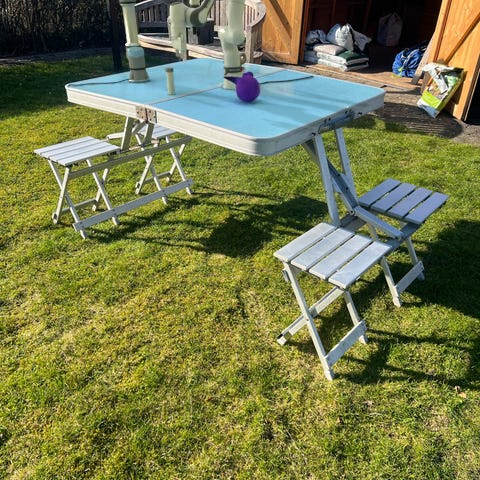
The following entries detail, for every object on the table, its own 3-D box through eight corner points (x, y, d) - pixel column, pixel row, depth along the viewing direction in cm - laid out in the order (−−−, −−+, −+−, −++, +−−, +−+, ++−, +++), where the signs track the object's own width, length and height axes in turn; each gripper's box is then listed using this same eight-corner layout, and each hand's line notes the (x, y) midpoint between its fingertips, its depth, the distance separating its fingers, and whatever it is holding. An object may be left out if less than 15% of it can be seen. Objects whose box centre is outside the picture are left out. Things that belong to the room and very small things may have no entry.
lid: (175, 71, 292) (174, 67, 291) (168, 72, 289) (168, 68, 288) (170, 70, 296) (170, 66, 295) (164, 71, 293) (163, 68, 292)
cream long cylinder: (176, 93, 300) (174, 68, 292) (170, 95, 297) (168, 69, 289) (172, 92, 303) (170, 67, 294) (166, 94, 300) (164, 68, 292)
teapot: (227, 72, 362) (226, 52, 355) (220, 70, 371) (219, 51, 363) (249, 69, 371) (249, 50, 364) (242, 67, 380) (242, 48, 372)
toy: (245, 93, 294) (260, 108, 274) (220, 89, 287) (233, 103, 266) (251, 69, 286) (267, 82, 266) (226, 64, 279) (240, 76, 258)
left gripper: (203, 5, 329) (204, 36, 339) (195, 3, 349) (197, 33, 360) (193, 5, 327) (195, 37, 338) (186, 4, 347) (188, 34, 358)
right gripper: (188, 34, 259) (189, 59, 266) (179, 31, 276) (180, 55, 282) (177, 34, 257) (179, 60, 264) (169, 31, 274) (170, 55, 280)
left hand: (196, 35), depth 349 cm, fingers open, 13 cm apart
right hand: (180, 57), depth 273 cm, fingers open, 8 cm apart
